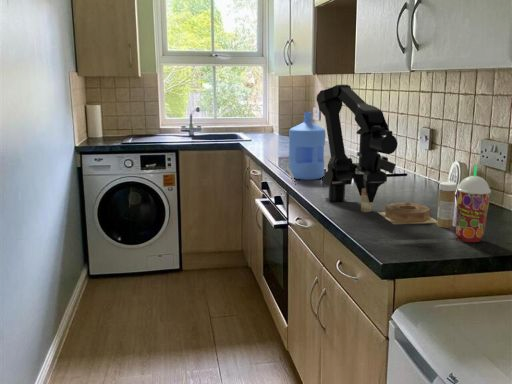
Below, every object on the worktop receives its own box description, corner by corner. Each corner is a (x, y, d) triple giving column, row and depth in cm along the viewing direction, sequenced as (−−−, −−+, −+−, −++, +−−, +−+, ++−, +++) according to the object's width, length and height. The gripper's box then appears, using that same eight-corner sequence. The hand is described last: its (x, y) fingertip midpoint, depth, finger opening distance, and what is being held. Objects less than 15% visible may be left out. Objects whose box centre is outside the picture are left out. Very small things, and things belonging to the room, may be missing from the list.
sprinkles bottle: (440, 225, 150) (443, 180, 147) (455, 228, 147) (459, 182, 144) (433, 229, 146) (436, 183, 144) (448, 232, 143) (452, 185, 141)
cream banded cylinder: (359, 212, 165) (360, 188, 163) (369, 212, 165) (370, 187, 163) (362, 215, 161) (363, 190, 160) (372, 214, 162) (373, 190, 160)
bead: (381, 212, 161) (381, 203, 160) (418, 211, 162) (418, 202, 161) (395, 223, 149) (396, 213, 148) (435, 221, 150) (435, 212, 149)
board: (376, 214, 162) (377, 211, 161) (419, 213, 163) (419, 210, 163) (393, 227, 148) (393, 224, 148) (439, 226, 149) (439, 222, 149)
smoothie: (452, 242, 135) (458, 167, 130) (452, 233, 142) (458, 162, 138) (486, 245, 132) (494, 169, 128) (485, 236, 139) (492, 164, 135)
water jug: (281, 175, 228) (282, 112, 222) (311, 172, 235) (313, 111, 229) (300, 181, 214) (301, 114, 208) (331, 178, 221) (333, 113, 215)
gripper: (405, 153, 151) (402, 205, 154) (383, 145, 169) (380, 192, 172) (368, 154, 150) (366, 206, 153) (350, 146, 168) (348, 192, 171)
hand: (366, 198), depth 162 cm, fingers open, 9 cm apart
